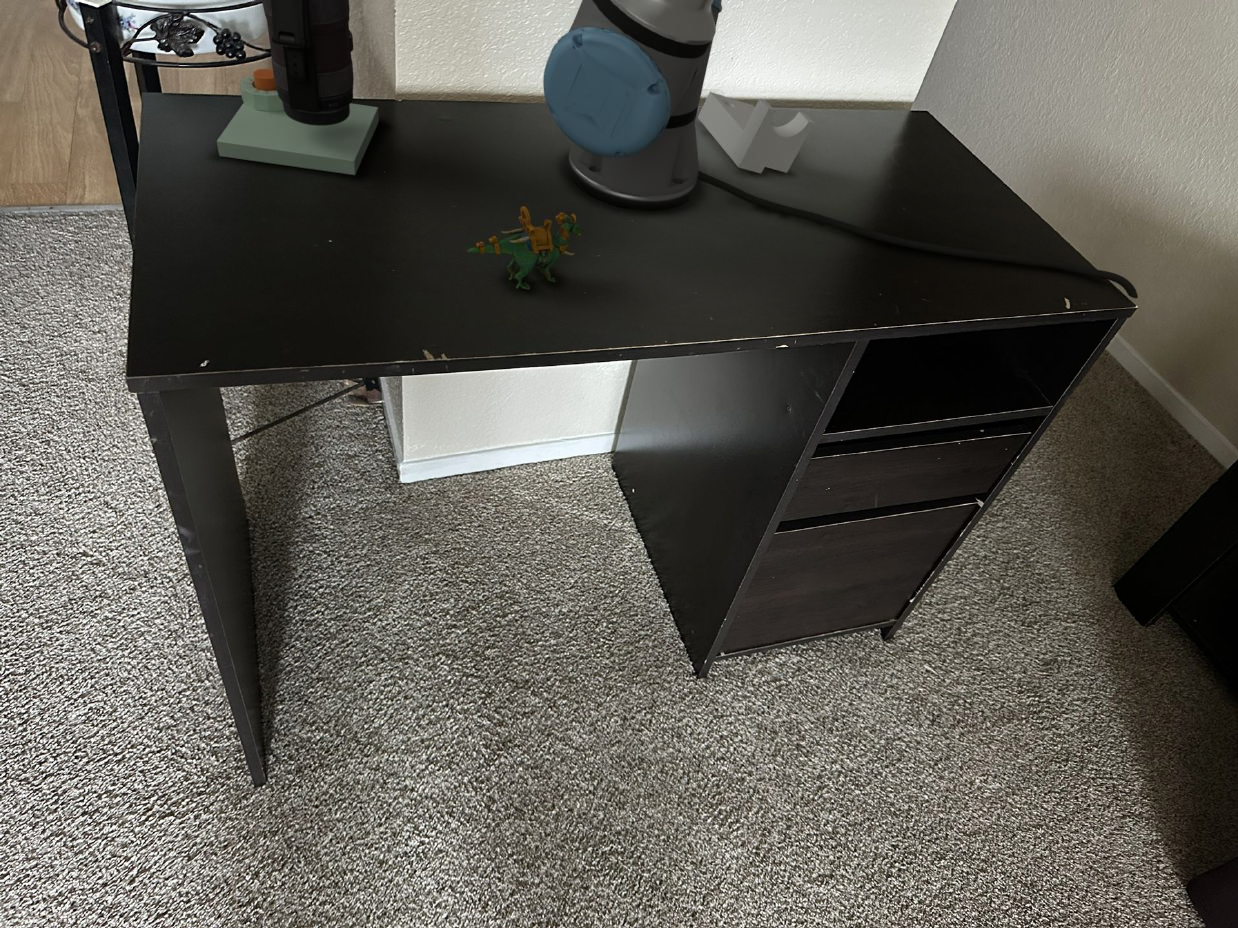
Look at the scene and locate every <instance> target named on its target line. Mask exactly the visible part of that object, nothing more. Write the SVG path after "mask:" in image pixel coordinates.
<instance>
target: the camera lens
mask: <svg viewBox="0 0 1238 928" xmlns="http://www.w3.org/2000/svg"><path fill="white" fill-rule="evenodd" d="M261 2H262V7H263V12H264V16H265V19H266V25H267V32H268V39H269V46H270V56H271V57H270V58H271V66H272V70H273V76H274V80H275V83H276V87H277V92H278V96H279V98H280V99H281V100H282V102H283V108H284V111H285V113H286V115H287V116H288V117H290V118H291V119H292V120H295V121H297V122H300V123H303V124H307V125H315V126H327V125H334V124H338V123H341V122H343V121H345V120H346V119H347V118H348V117H349V114H350V103H352V102H353V101H354V82H355V80H354V79H355V78H354V65H353V58H352V52H353V51H354V49H355V48H354V37H353V32H352V31H351V30H350V18H351V17H350V12H351V11H350V9H351V8H350V0H308V4H309V15H310V43H311V44H314V55H315V66H316V76H317V87H318V98H319V108H320V110H319V112H318V113H315V112H308V111H302V110H295V109H290V101H289V93H288V84H287V76H286V67H285V59H284V51H283V46H282V45H276V44H275V43H273V41H272V36H273V35H274V34H273V21H272V7H271V0H261Z"/></svg>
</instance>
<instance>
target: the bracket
mask: <svg viewBox="0 0 1238 928" xmlns="http://www.w3.org/2000/svg"><path fill="white" fill-rule="evenodd" d="M775 112H776V110H775V108H774V107H772V105H771V104H770V103H769V102H768V101H767V100H765V99H762V98H759V99H758V101H757V103H756V104H755V106H754V105H752V104H750V103H746V102H743V101H740V100H737V99H734V98H731V97H728V96H725V95H721V94H718V93H716V92H712V91H709V93H708V94H707V97H706V99H705V101H704V104H703V105H702V108H701V110H700V112H699V114H698V116H697V119H698V120H699V121H700V122H701V124H702V125H703V126H704V127H705V128H706V130H707V131H708V132H709V133H710V135H711V136H712V137H713V138H714V140H715V141H716V142H717V144H719V146H720V147H721V148H722V149H723V151H724V152H725V153H726V154H727V156H729V158H730V159H731V161H732V162H733V163H734V164H735V165H736V166H737V168H740V169H743V170H746V171H751V172H754V173H757V174H762V173H763V172H764V169H765V168H768V169H772V170H776V171H779V172H782V173H785V174H788V172H789V170H790V168H791V166H792V165H793V163H794V161H795V159H796V158H797V156H798V154H799V153H800V150H801V149H802V148H803V145H804V143H805V141H806V140H807V138H808V136H809V135H810V133H811V131H812V129H813V127H814V125H815V122H814V121H813V120H812V119H811V118H810V117H809V116H808V115H807V114H806V113H805V112H802V111H798V112H797V114H796V115H795V117H794V118H792V120H790V121H789V122H788V123H786V124H784V125H781V126H773V118H774V115H775Z"/></svg>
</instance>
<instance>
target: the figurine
mask: <svg viewBox="0 0 1238 928" xmlns="http://www.w3.org/2000/svg"><path fill="white" fill-rule="evenodd" d="M519 210H520V216H518V220H519V223H520V224H522V227H521V228H517V229H512V230H508V231H502V230H500V232H501V233H503V234H504V235H511V236H509V237H507V238H504V239H502V240H498V238H497V237H496V235H494V236H492V237H490V238H488V241H489V243H488V244H485V243H484V241H479V242H476V243H475V245H476V246H475V247H471V248H468V249H466V252H467V253H468V254H469V253H470V254H479V255H483V254H494V255H501V254H505V255H508V256H509V257H510V258H511V261H510V263H509V265H508V266H507V269H508V272H509V273H510V277H509V278H508V280H509V281H512V280H513V279H514V280H516V281H517V282H518V284H517V285H516V287H515V288H516V289H519V288H522V289H523V290H531V287H530V284H527V283H528V282H523V279H524V278H525V277H526V276H528V275H529V274H531V272H532V271H533V269H534V267H537V268H538V270H540V272H541V273H542V274H544V276H545V278H547V281H548V282H552V283H556V278H555V277H551V276H552V275H551V272H550V269H551V268H552V267H553V266H554V265H555V264H556V262H557V260H558V259H559V258H560V255H564V256H566V257H567V256H568V257H570V256H573V255H574V254H575V252H573V253H572V252H569V251H567V249H568V248H569V240H570V234H577V236H579V237H580V236H582V229H581V227H580V225H579V222H578V221H577V216H576V215H575V214H574V213H571V215H570V216H568V214H565V213H564V212H559V214H557V215H555V220H556V221H557V224H558V225H560V226H559V228H558V231H557V232H556V235H553V234H552V233H551V231H550V230H551V227H552V223H553V221H552V220H550V219H544V222H543V224H544V225H543V226H533V224H532V222H531V215H530V211H529V210H528V208H527V207H526V206H524V205H522V206H521V207H520V209H519ZM563 221H567V222H565V223H563ZM516 266H519V267H520V270H519V271H518V272H517V271H516V269H515V267H516ZM544 266H545V267H544Z"/></svg>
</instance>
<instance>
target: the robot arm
mask: <svg viewBox="0 0 1238 928" xmlns="http://www.w3.org/2000/svg"><path fill="white" fill-rule="evenodd" d="M722 2H723V0H581V3H580V5H579V7H578V9H577V12H576V15H575V17H574V19H573V22H572V24H571V26H570V28H569V30H568V31H567V32H566V33H565V34H563V35H562V36H560V38H558V40H557V42H556V43H555V44H554V45H553V47H552V48H551V51H550V54H549V56H548V58H547V60H546V64H545V67H544V70H543V79H542V81H543V83H542V84H543V94H544V99H545V104H546V105H547V106H548V109H549V112H550V113H551V115H552V119H553V121H554V122H555V124H556V125H557V128H559V129H560V131H561V132H562V133H563V134H564V135H565V136H566V138H568V139H569V140H570V141H571V146H570V148H569V150H568V158H567V159H568V161H567V172H568V174H569V176H570V178H571V180H572V181H573V182H574V183H575V184H576V185H577V186H578V187H579V188H580V189H582V191H584V192H585V193H587V194H588V195H591V196H593V197H594V198H596V199H599V200H601V201H604V202H606V203H609V204H612V205H615V206H619V207H623V208H629V209H635V210H648V211H650V210H651V211H653V210H665V209H670V208H674V207H678V206H681V205H683V204H684V203H686V202H688V201H690V199H691V198H692V197H694V196H695V193H696V190H697V187H698V183H699V181H701V182H704V183H706V184H708V185H711V186H713V187H715V188H718V189H720V190H722V191H724V192H726V193H729V194H731V195H733V196H735V197H737V198H738V199H740V200H743V201H744V202H745V201H746V202H747V203H750V204H752V205H756V206H758V207H761V208H764V209H767V210H771V211H774V212H777V213H779V214H780V213H781V214H785V215H788V216H792V217H796V218H800V219H804V220H808V221H811V222H815V223H819V224H822V225H825V226H829V227H832V228H835V229H838V230H841V231H844V232H848V233H851V234H854V235H857V236H861V237H864V238H867V239H869V240H874V241H878V242H882V243H886V244H891V245H895V246H899V247H903V248H908V249H913V250H919V251H923V252H928V253H936V254H940V255H947V256H953V257H959V258H967V259H974V260H975V259H976V260H982V261H983V260H984V261H991V262H999V263H1000V262H1001V263H1009V264H1015V265H1022V266H1031V267H1039V268H1041V267H1042V268H1047V269H1054V270H1055V269H1056V270H1060V271H1065V272H1069V273H1074V274H1078V275H1082V276H1086V277H1091V278H1092V277H1093V278H1096V279H1097V278H1099V279H1102V280H1107V281H1110V282H1113V283H1116V284H1118V285H1119V286H1121V287H1122V288H1123V289H1124V290H1125V293H1126V294H1127V295H1128V297H1130V298H1132V299H1138V298H1139V297H1138V296H1139V295H1138V292H1137V290H1136V288H1135V286H1134V285H1133V284H1132V282H1130V280H1128V279H1127V278H1126V277H1124V276H1123V275H1121V274H1117V273H1114V272H1111V271H1107V270H1101V269H1096V268H1090V267H1085V266H1081V265H1077V264H1074V263H1069V262H1065V261H1060V260H1059V261H1058V260H1053V259H1045V258H1037V257H1030V256H1029V257H1028V256H1020V255H1013V254H1006V253H1000V252H999V253H997V252H989V251H982V250H981V251H980V250H973V249H965V248H960V247H959V248H958V247H953V246H945V245H940V244H933V243H928V242H923V241H917V240H913V239H907V238H903V237H900V236H899V237H898V236H894V235H890V234H887V233H886V234H885V233H882V232H879V231H875V230H871V229H868V228H864V227H861V226H858V225H854V224H852V223H848V222H845V221H841V220H839V219H836V218H832V217H829V216H825V215H822V214H819V213H815V212H811V211H809V210H808V211H807V210H804V209H800V208H796V207H792V206H788V205H784V204H780V203H777V202H773V201H770V200H767V199H765V198H764V199H763V198H762V197H758V196H756V195H753V194H751V193H748V192H747V191H745V190H742V189H740V188H738V187H736V186H734V185H732V184H730V183H728V182H725V181H723V180H721V179H719V178H717V177H715V176H712V175H710V174H708V173H705V172H703V171H701V170H700V163H699V153H698V141H697V132H696V119H697V114H698V109H699V105H700V101H701V97H702V96H701V95H702V92H703V87H704V83H705V77H706V73H707V70H708V65H709V61H710V56H711V51H712V47H713V42H714V38H715V35H716V34H717V33H716V32H717V29H716V28H717V24H718V19H719V14H720V13H722V11H723V4H722ZM271 7H272V21H273V34H274V35H273V36H272V41H273V43H275V44H276V45H282V46H283V51H284V59H285V67H286V76H287V84H288V93H289V101H290V109H295V110H302V111H308V112H315V113H318V112H319V110H320V108H319V98H318V87H317V76H316V66H315V55H314V44H311V43H310V15H309V4H308V0H271Z"/></svg>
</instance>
